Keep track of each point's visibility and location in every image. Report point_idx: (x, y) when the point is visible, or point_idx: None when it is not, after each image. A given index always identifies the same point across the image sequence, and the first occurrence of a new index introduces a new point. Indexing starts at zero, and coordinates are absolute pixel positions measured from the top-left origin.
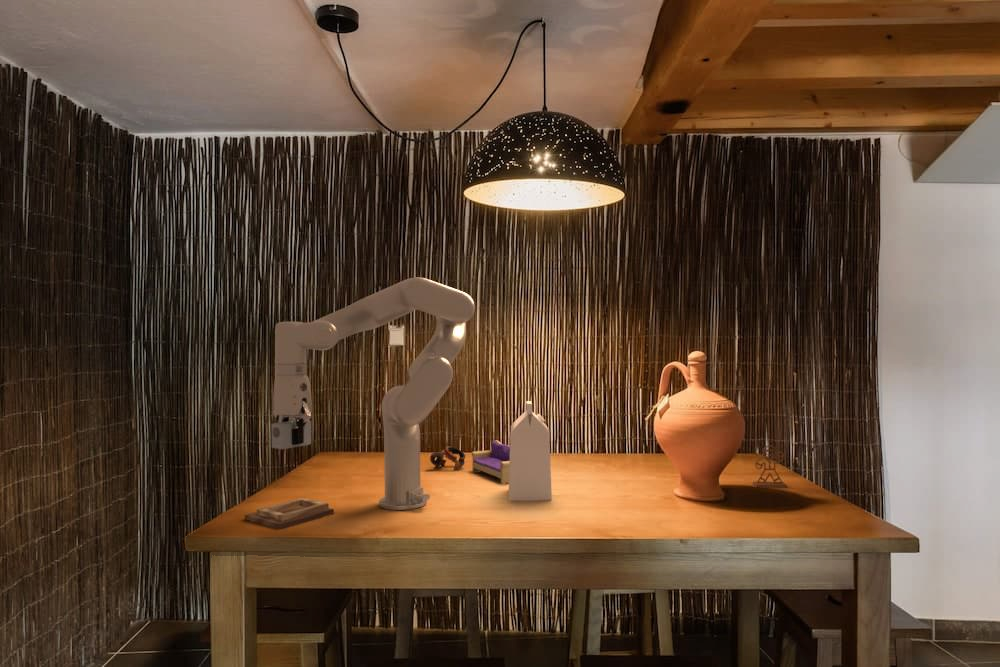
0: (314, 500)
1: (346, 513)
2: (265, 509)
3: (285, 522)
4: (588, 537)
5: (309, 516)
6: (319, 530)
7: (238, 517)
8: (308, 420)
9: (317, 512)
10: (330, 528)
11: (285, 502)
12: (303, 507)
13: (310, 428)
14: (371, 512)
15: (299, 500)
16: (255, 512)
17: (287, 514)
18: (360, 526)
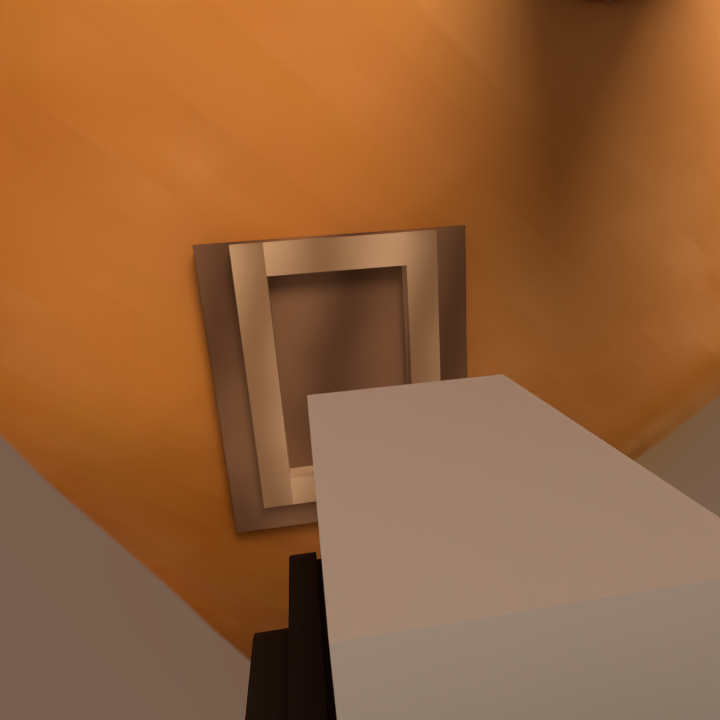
0: (328, 238)
1: (497, 181)
2: (294, 482)
3: None
4: None
5: (465, 365)
6: (587, 406)
7: (181, 521)
8: (697, 589)
9: (450, 311)
10: (603, 365)
11: (249, 360)
12: (323, 301)
13: (637, 477)
14: (580, 90)
15: (266, 290)
16: (232, 486)
17: None
18: (680, 274)
